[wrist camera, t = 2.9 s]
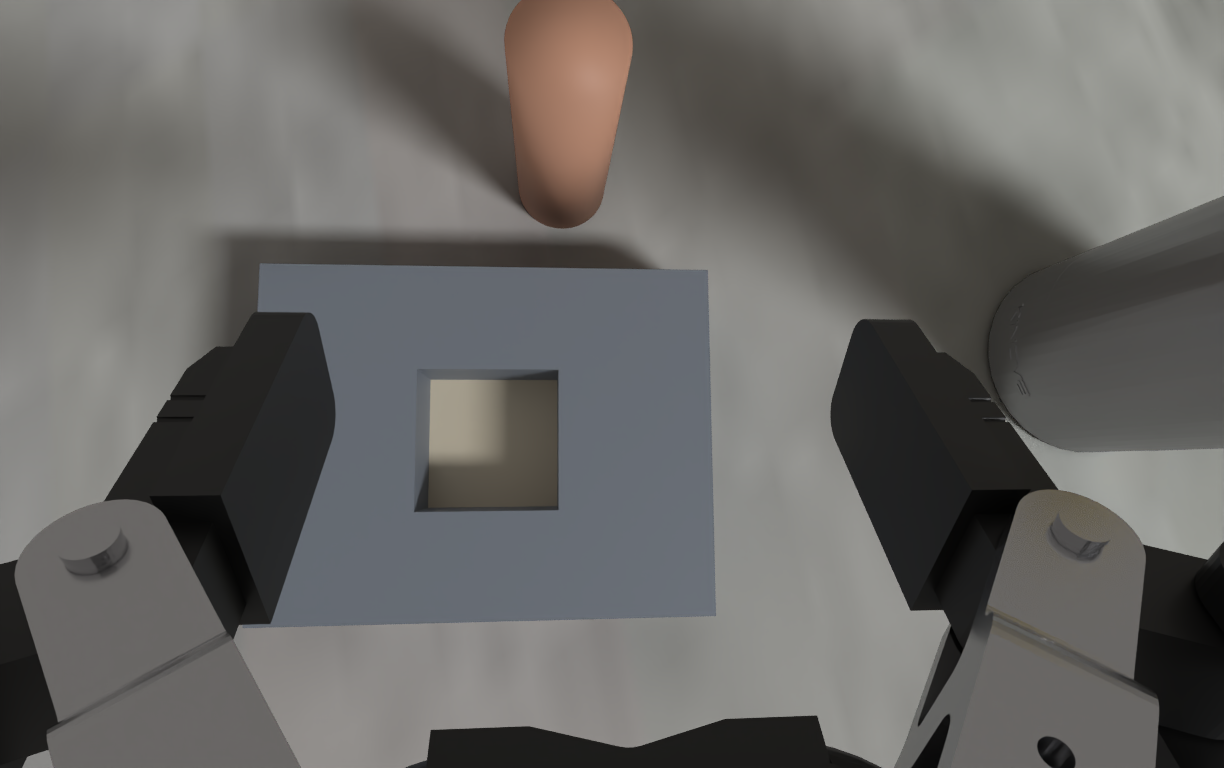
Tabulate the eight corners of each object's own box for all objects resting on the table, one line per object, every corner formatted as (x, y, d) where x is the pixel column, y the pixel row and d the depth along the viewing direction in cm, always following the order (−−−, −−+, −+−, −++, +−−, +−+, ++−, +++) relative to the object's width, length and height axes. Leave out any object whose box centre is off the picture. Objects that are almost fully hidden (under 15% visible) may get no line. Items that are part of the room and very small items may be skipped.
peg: (603, 147, 36) (632, -15, 24) (604, 229, 35) (633, 105, 23) (518, 145, 35) (505, -21, 23) (518, 227, 35) (503, 101, 23)
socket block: (689, 292, 35) (707, 270, 31) (695, 598, 33) (715, 615, 29) (293, 287, 34) (259, 263, 30) (280, 608, 32) (242, 627, 28)
